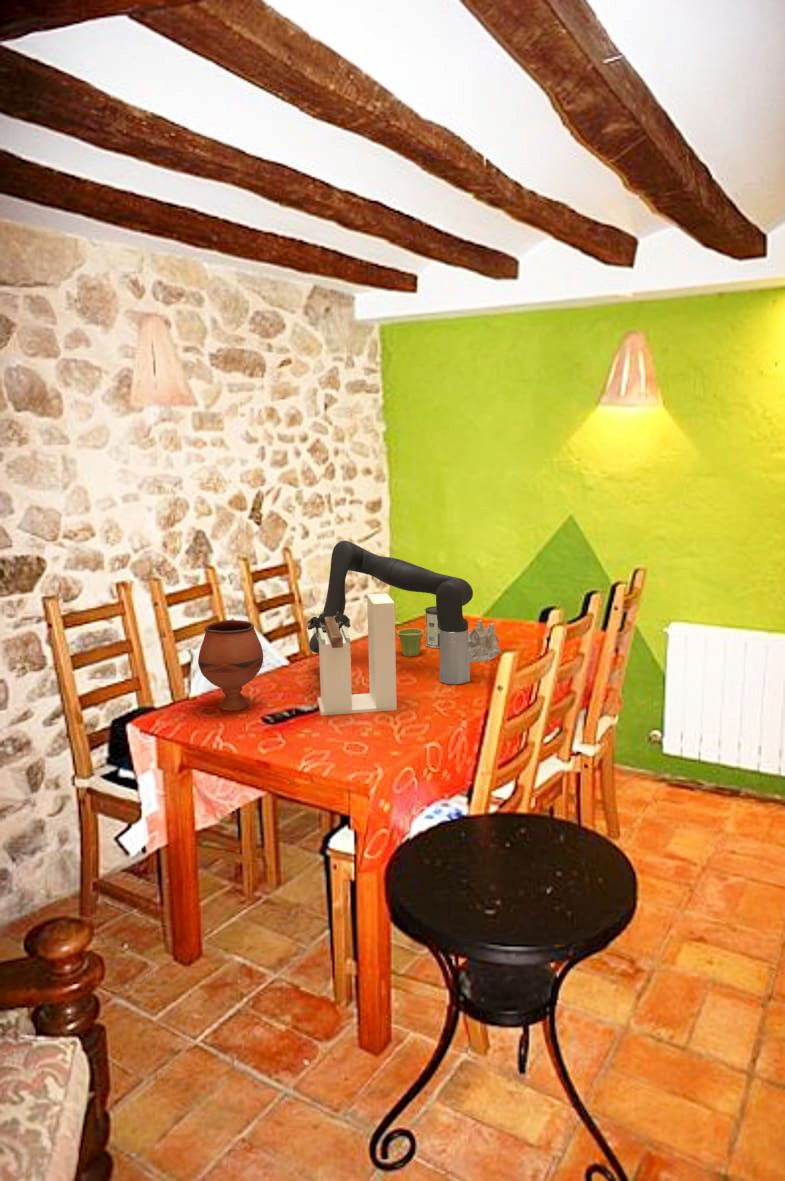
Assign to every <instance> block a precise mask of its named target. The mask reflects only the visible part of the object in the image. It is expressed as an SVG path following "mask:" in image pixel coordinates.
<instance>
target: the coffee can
mask: <svg viewBox="0 0 785 1181" xmlns="http://www.w3.org/2000/svg"><path fill="white" fill-rule="evenodd" d="M424 611H425V646H426V647H427V646H428V648H432V649H440V629H439V623H438V620H437V611H436V605H435V606H429V607H426V608H425V609H424Z"/></svg>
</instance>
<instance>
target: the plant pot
mask: <svg viewBox="0 0 785 1181" xmlns="http://www.w3.org/2000/svg"><path fill="white" fill-rule="evenodd" d="M396 633H397V634H398V637H399V642H400V646H401V654H402V655H403V656H404V657H416V656H419V655H420V649H421V642H422V637H423V634H424V630H423V629H420V628H403V629H400V630H397V632H396Z"/></svg>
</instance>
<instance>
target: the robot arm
mask: <svg viewBox="0 0 785 1181" xmlns="http://www.w3.org/2000/svg"><path fill="white" fill-rule="evenodd" d="M330 558H331V559H330V570H329V578H328V579H329V580H328V587H327V594H326V599H325V602H324V607H323V610H322V612H321V613H320V614H319V616H318V617H317V616H313V617H311V618H310V619H309V620H308V621H307V630H309V631H310V630H312V629H313V630H314V629H315V632H314V633H313V634H312V636H311V637H310V639H309V643H308V644H309V645H308V646H309V649H310V652H313V653H314V654H318V655H319V635H318V628H322V631H323V633H327V632H326V629H325V622H324V620H325V617H334V618H335V620H336V623H337V625H338V627H339V630H340V631H341V629H342V627H345V628H347V629H349V628H351V619H350V618H349V617H348V615H346V614H344V613H345V611H346V610H345V609H346V602H347V601H346V578H347V575H348V571H351V572H356V573H360V574H364V575H368V576H371V577H373V578H376V579H377V580H378V581H381V582H382V583H384V584H387V585H389V586H390V587H394V588H397V589H400V590H403V591H406V592H407V591H408V592H413V593H415V592H416V593H425V594H431V595H434V596H435V606H436V611H437V620H438V623H439V629H440V648H439V681H440V682H441V683H443V684H446V685H447V684H448V685H461V684H465V683H471V662H470V653H469V652H468V633H469V621H468V619H466V618H464V615H463V614H464V613H463V607H464V606H466V605H467V604H468V603H470V602H471V601H472V599H473V596H474V591H473V588H472V586H471V584H470V583H469V582H468V581H466V580H465V579H463V578H460V577H457V576H451V575H447V574H442V573H438V572H436V571H435V572H434V571H432V570H430V569H429V568H425V567H422V566H420V565H417V564H413V563H412V562H408V561H405V560H402V559H400V558H397V557H396V558H395V557H389V556H388V557H387V556H383V555H378V554H375V553H373V552H371V551H369V550H366V549H364V548H363V547H362V546H360V545H357V544H355V543H353V542H351V541H349V540H341V541H338V542H337V543H336V544H335V545H334V547H333V549H332V552H331V556H330Z"/></svg>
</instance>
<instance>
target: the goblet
mask: <svg viewBox="0 0 785 1181" xmlns="http://www.w3.org/2000/svg"><path fill="white" fill-rule="evenodd" d="M204 631H205V632H204V637H203V640H202V643H201V646H200V650H199V654H198V658H197V659H198V660H197V663H198V668H199V670H200V672H201V674H202V675H203V677H204V678H205V679H206V680H207V681H208V682H209V683H210V684H212V685H214V686H216V687H217V688H220V689H221V691H222V693H223V694H224V697H223V698H222V700H221V701H220V703H219V705H218V706H219V708H220V709H221V710H224V711H229V712H231V711H240V710H243V709H246V708H247V707H249V700H248V699H247V698H246V697H245V696H244V695H243V694H242V693H241V692H242V691H243V687H244V686H246V685H247V684H249V683H250V682H251V681H252V680H253V679H255V677H256V676H257V675H258V673H259V671H260V670H261V668H262V666H263V663H264V651H263V648H262V643H261V641H260V639H259V636H258V634H257V632H256V630H255V625H254V624H253V623H252V622H250V621H247V620H239V619H224V620H219V621H216V622H212V623H209V624H207V625H205V627H204Z"/></svg>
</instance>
